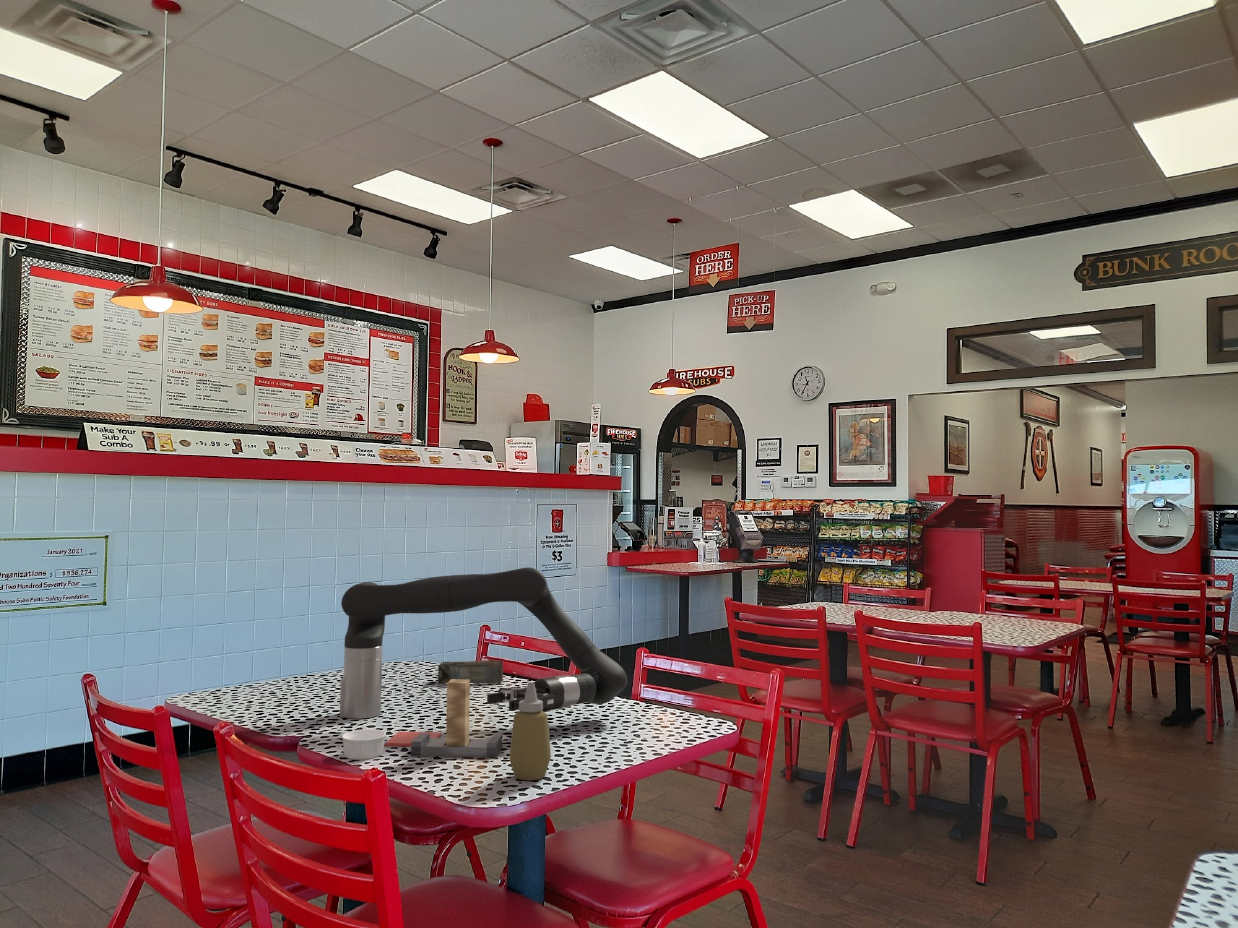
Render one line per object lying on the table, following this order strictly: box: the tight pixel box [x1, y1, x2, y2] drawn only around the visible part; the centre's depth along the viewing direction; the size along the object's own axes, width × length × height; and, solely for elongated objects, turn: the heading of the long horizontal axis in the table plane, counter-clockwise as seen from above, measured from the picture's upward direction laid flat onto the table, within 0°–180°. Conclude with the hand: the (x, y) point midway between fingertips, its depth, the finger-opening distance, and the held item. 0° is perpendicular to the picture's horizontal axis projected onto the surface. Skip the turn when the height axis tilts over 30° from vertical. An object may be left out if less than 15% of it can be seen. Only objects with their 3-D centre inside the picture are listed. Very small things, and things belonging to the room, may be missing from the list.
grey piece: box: [410, 733, 503, 758], centre depth 181 cm, size 18×7×3 cm, turn 87°
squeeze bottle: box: [509, 681, 552, 781], centre depth 165 cm, size 8×8×18 cm
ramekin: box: [341, 728, 387, 761], centre depth 179 cm, size 9×9×4 cm
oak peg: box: [445, 679, 471, 746], centre depth 181 cm, size 4×4×15 cm
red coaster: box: [384, 731, 443, 747], centre depth 191 cm, size 10×10×1 cm
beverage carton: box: [437, 659, 504, 685], centre depth 258 cm, size 8×19×7 cm, turn 95°
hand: (498, 702), depth 189 cm, fingers open, 8 cm apart
